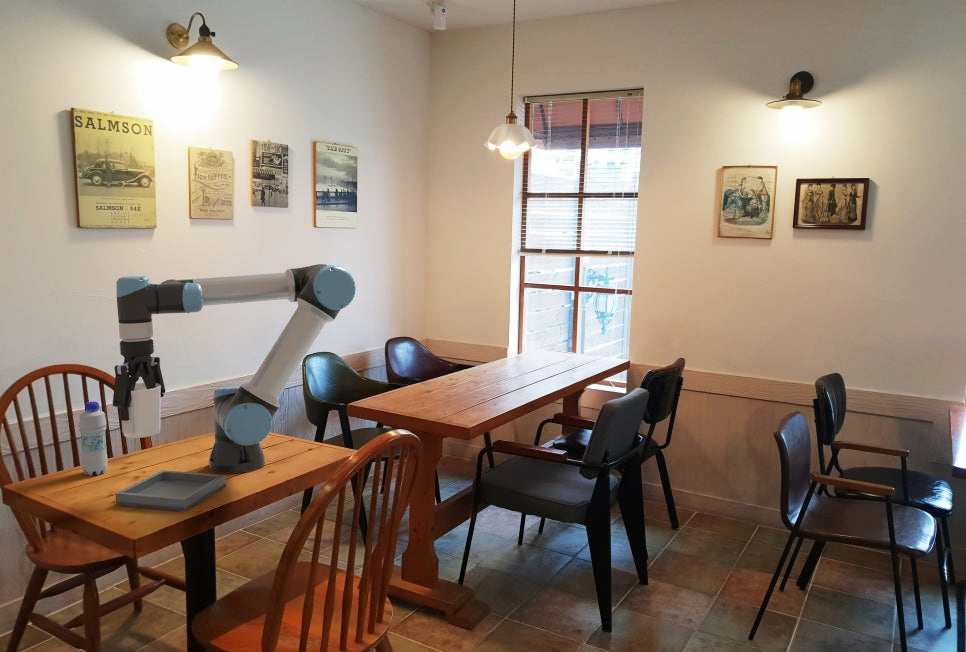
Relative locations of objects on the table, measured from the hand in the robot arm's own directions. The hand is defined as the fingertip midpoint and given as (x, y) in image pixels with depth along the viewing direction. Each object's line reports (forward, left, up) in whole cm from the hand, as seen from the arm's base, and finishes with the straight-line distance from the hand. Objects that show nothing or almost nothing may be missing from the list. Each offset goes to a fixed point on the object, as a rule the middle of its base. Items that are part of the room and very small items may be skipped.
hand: (142, 427), depth 183 cm
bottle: (-11, -23, -17) cm, 31 cm away
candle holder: (0, 0, -2) cm, 2 cm away
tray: (0, +8, -17) cm, 19 cm away
